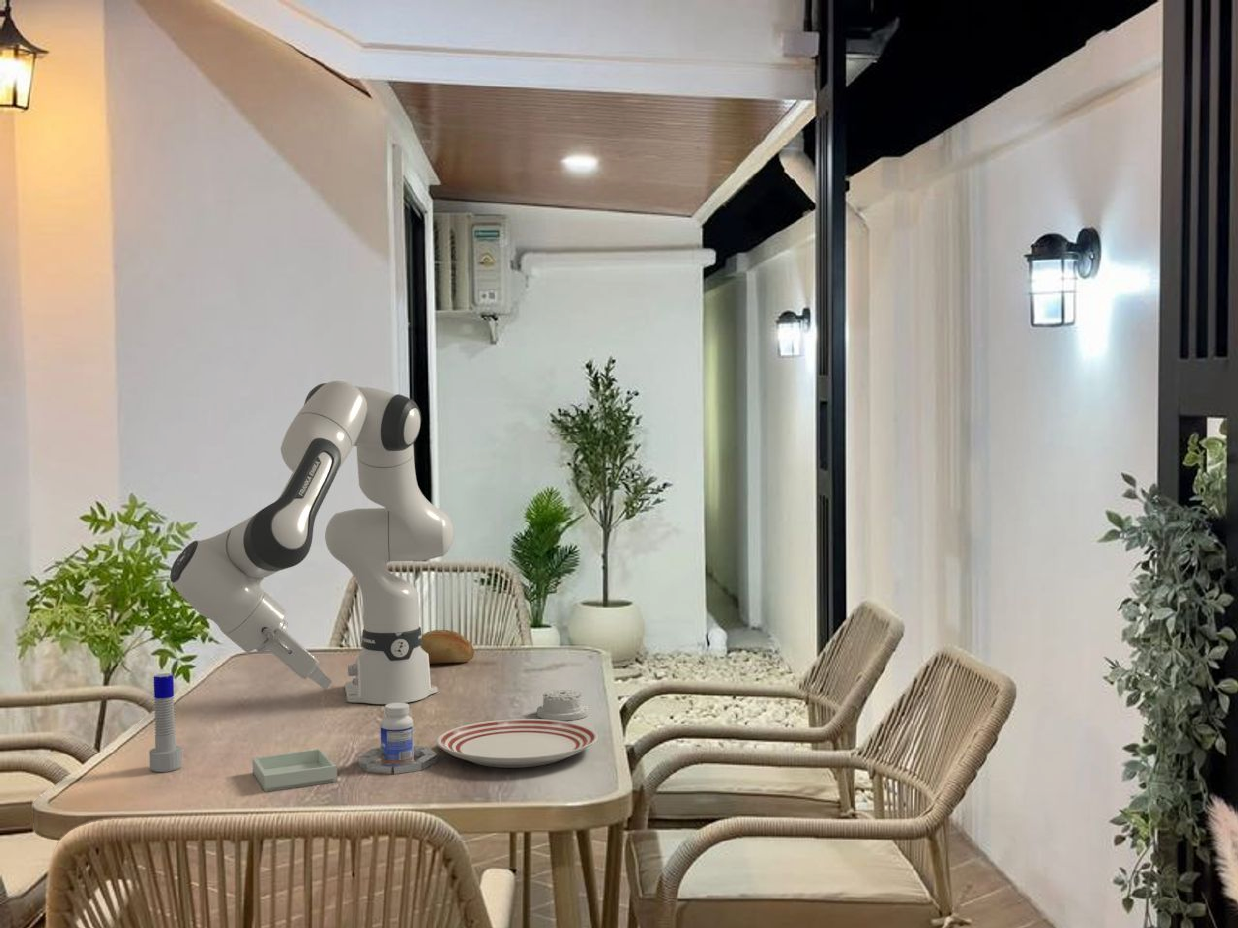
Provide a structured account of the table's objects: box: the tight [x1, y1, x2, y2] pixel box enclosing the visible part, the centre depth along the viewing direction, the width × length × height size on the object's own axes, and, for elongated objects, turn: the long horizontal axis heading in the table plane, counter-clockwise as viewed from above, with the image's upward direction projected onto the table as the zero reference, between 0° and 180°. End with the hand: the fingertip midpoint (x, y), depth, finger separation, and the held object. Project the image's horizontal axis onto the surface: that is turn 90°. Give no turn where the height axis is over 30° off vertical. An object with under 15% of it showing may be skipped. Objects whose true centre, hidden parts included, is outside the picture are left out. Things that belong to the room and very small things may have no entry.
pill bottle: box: [380, 702, 415, 764], centre depth 202 cm, size 5×5×10 cm
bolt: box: [148, 672, 183, 773], centre depth 200 cm, size 16×5×5 cm
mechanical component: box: [536, 689, 590, 722], centre depth 233 cm, size 10×4×10 cm
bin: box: [251, 748, 338, 793], centre depth 195 cm, size 11×11×2 cm
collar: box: [357, 745, 438, 775], centre depth 202 cm, size 12×12×1 cm
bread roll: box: [420, 629, 475, 665], centre depth 281 cm, size 10×15×8 cm, turn 97°
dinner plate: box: [436, 718, 599, 769], centre depth 207 cm, size 27×27×3 cm
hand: (321, 679), depth 196 cm, fingers open, 8 cm apart
